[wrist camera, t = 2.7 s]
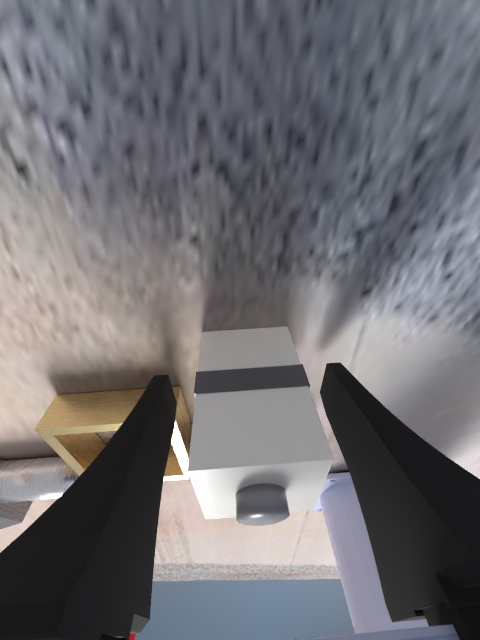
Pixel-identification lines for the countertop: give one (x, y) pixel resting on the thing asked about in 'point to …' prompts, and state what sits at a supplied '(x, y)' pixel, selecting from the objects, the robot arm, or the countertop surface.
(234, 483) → the white knobbed block
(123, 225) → the countertop surface
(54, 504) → the robot arm
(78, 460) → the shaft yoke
